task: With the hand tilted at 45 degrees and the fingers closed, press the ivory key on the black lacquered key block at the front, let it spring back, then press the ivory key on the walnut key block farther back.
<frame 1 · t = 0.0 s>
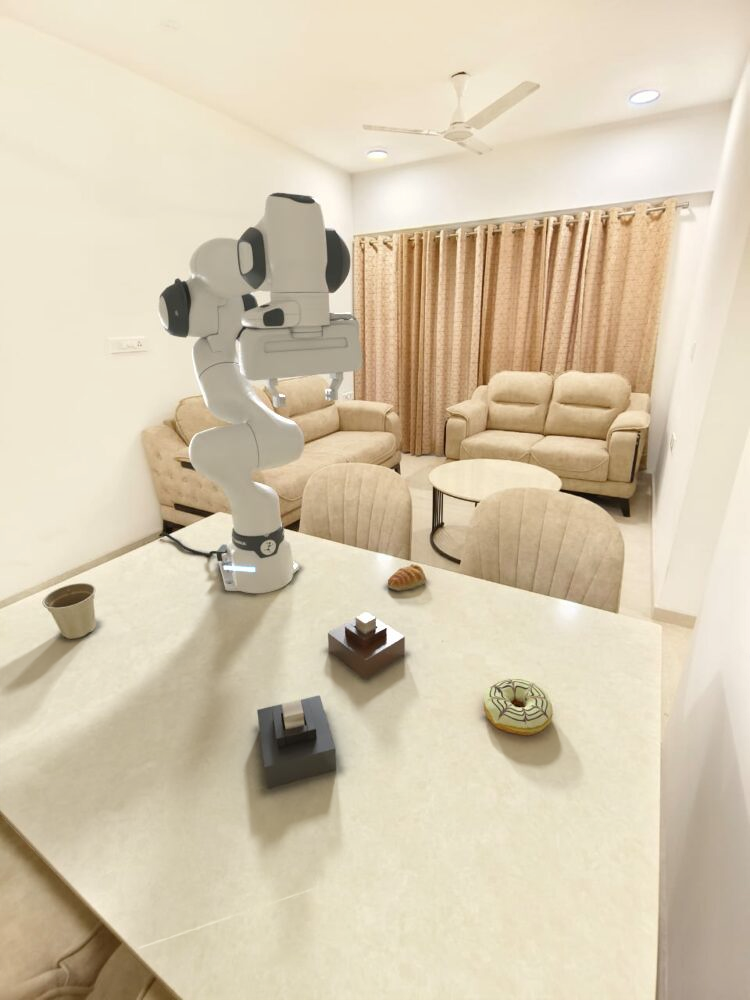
hand: (306, 403, 82), 48 cm above the table, tool pointing down, fingers open, 8 cm apart
front key: (293, 714, 74), point 7 cm above the table, slide at 0.1 cm
walnut key block: (366, 652, 97), on the table
black key block: (296, 749, 76), on the table
flower pot: (79, 631, 105), on the table
back key: (365, 623, 95), point 7 cm above the table, slide at 0.1 cm
pastry: (407, 584, 121), on the table
decorated donut: (515, 715, 82), on the table
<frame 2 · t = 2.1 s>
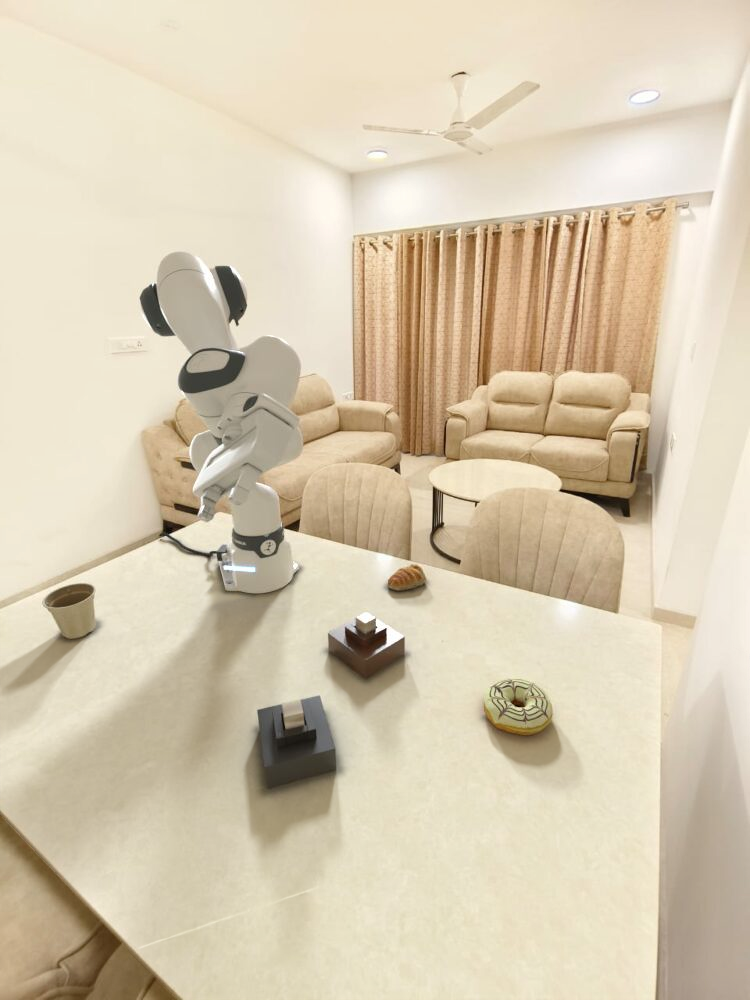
hand: (219, 511, 66), 38 cm above the table, tool tilted 50°, fingers open, 8 cm apart
nothing on the table moved.
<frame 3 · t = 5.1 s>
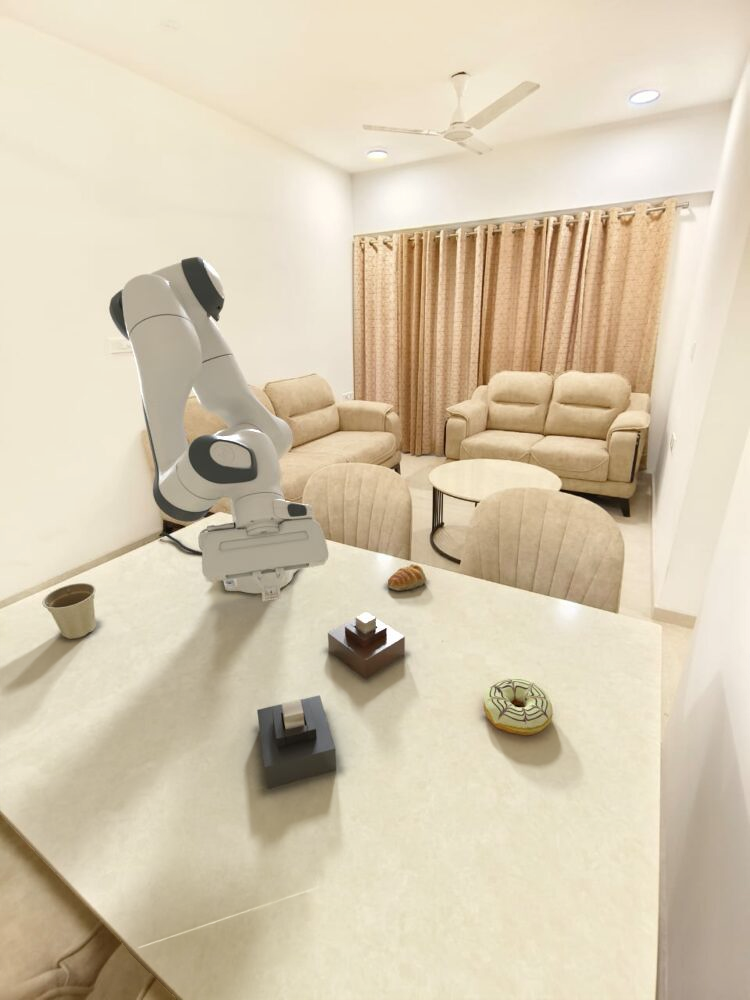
hand: (271, 598, 80), 19 cm above the table, tool tilted 45°, fingers closed
nothing on the table moved.
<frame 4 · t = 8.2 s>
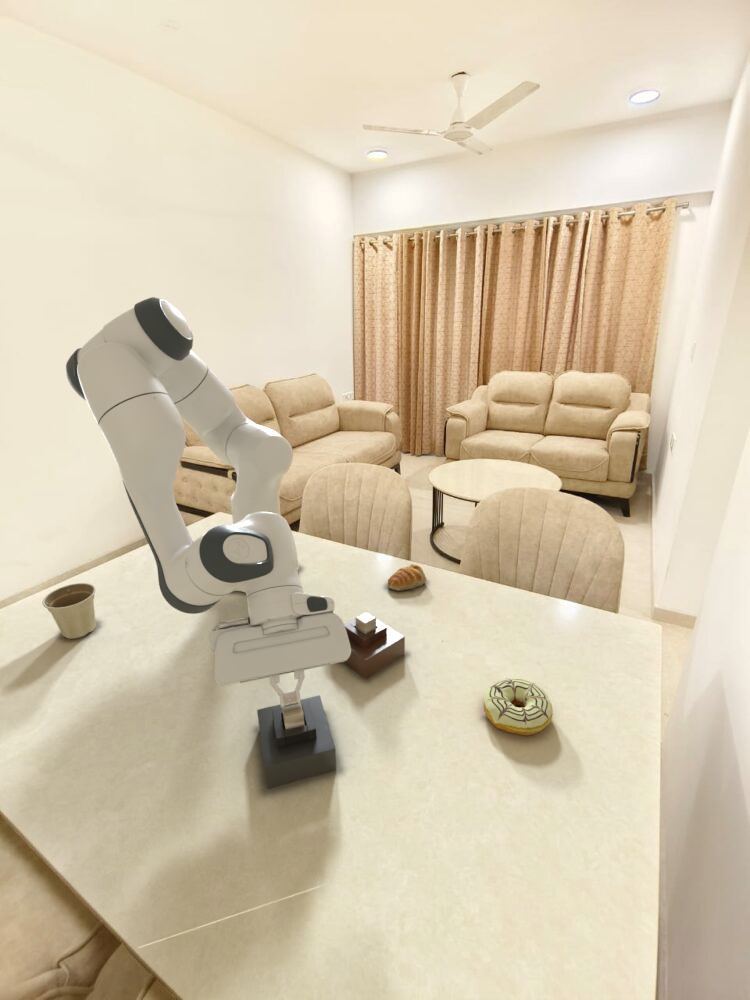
hand: (290, 705, 73), 9 cm above the table, tool tilted 45°, fingers closed, pressing on front key
front key: (293, 715, 74), point 7 cm above the table, slide at -0.1 cm, touching gripper
everything else where it was.
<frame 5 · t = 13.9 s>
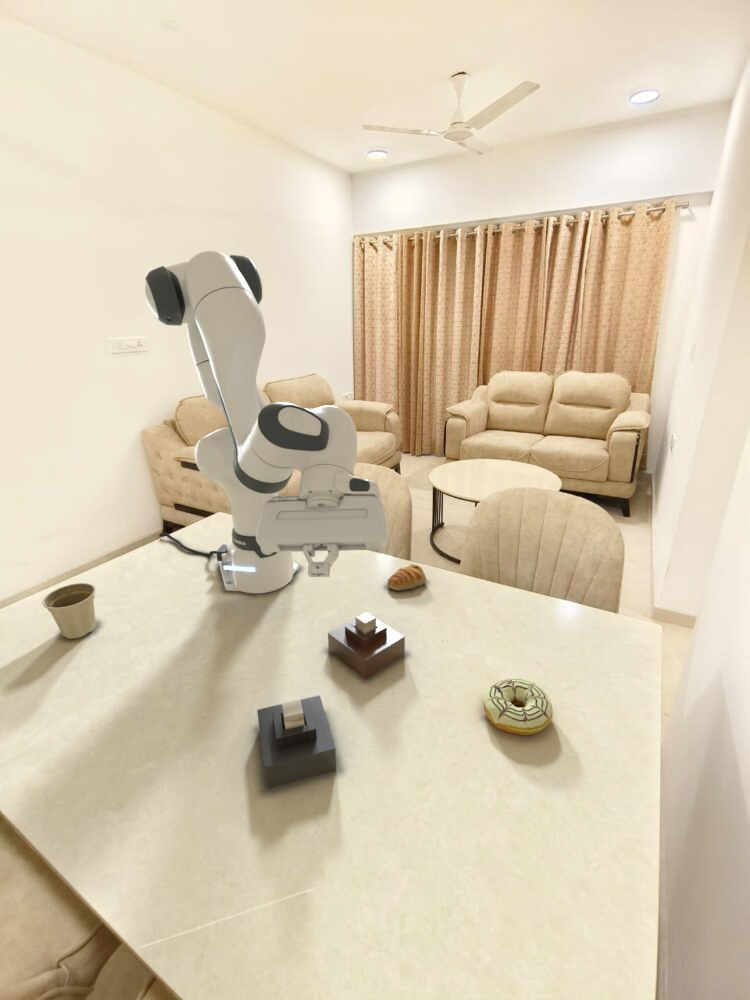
hand: (318, 575, 73), 26 cm above the table, tool tilted 55°, fingers closed
front key: (293, 714, 74), point 7 cm above the table, slide at 0.1 cm
everything else where it was.
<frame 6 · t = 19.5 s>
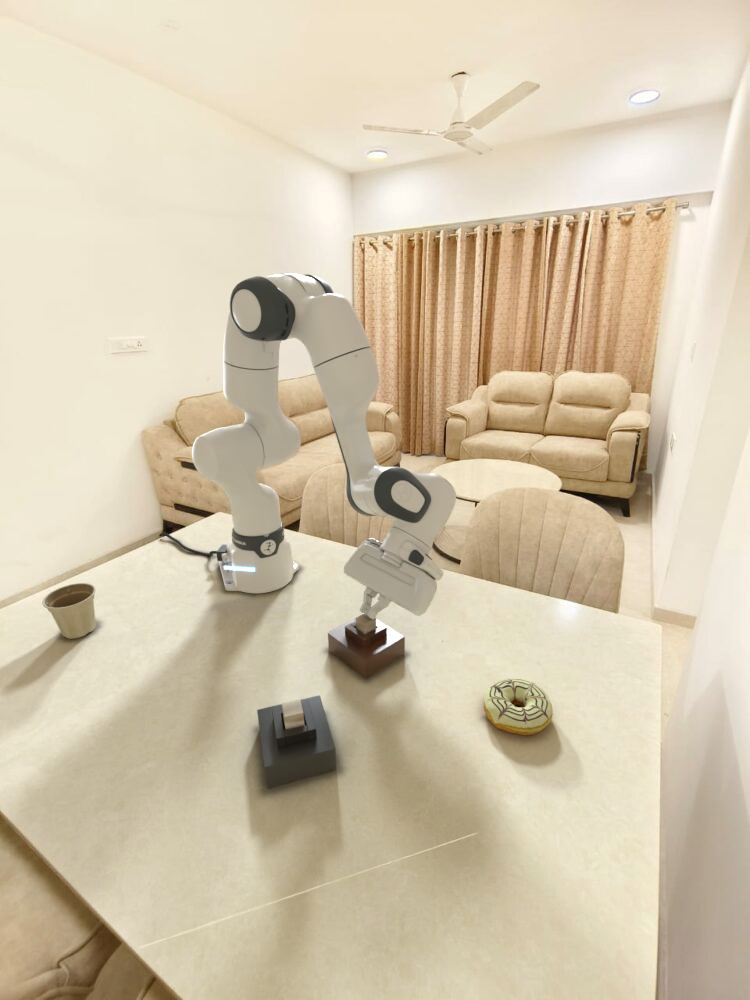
hand: (366, 615, 94), 9 cm above the table, tool tilted 45°, fingers closed, pressing on back key
back key: (365, 623, 95), point 7 cm above the table, slide at -0.1 cm, touching gripper
everything else where it was.
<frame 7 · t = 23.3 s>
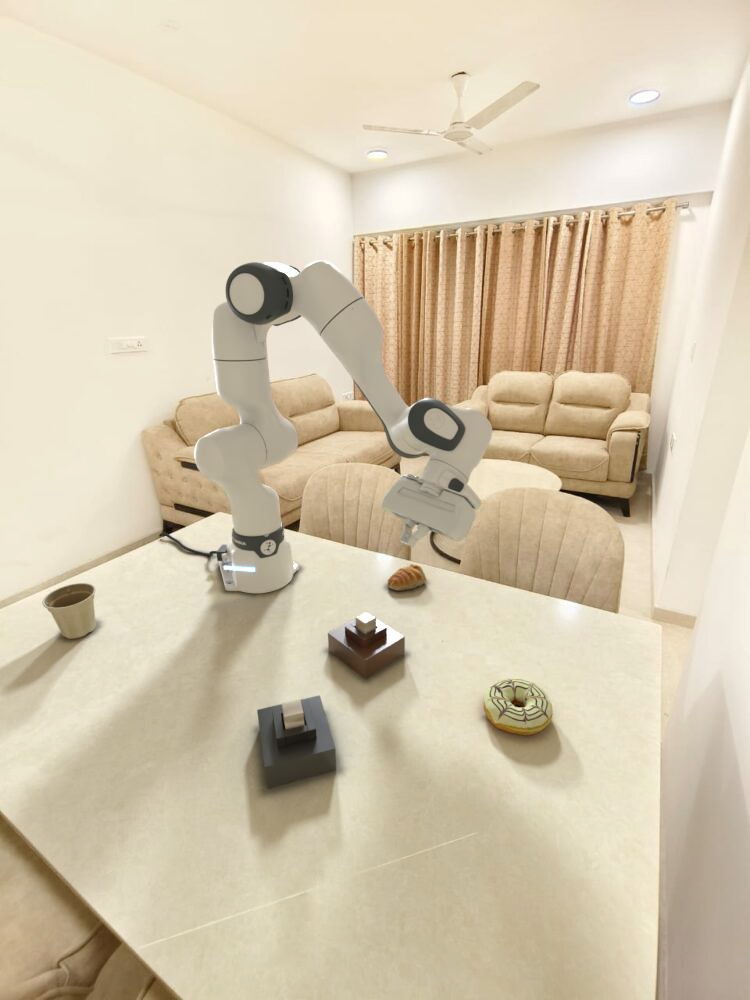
hand: (405, 543, 96), 20 cm above the table, tool tilted 45°, fingers closed
back key: (365, 623, 95), point 7 cm above the table, slide at 0.1 cm
everything else where it was.
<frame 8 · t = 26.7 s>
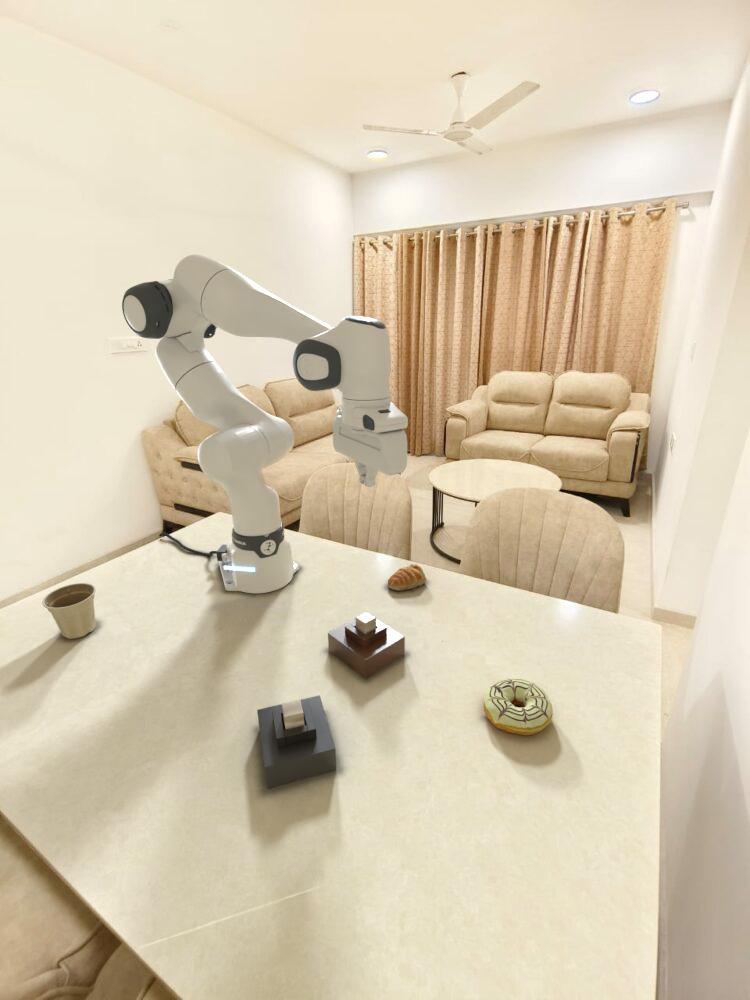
hand: (367, 484, 95), 31 cm above the table, tool pointing down, fingers closed
nothing on the table moved.
at the end: front key pushed in 1.3 cm at the most during the clip, back to where it started at the end; back key pushed in 1.3 cm at the most during the clip, back to where it started at the end; front key slide at 0.1 cm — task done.
